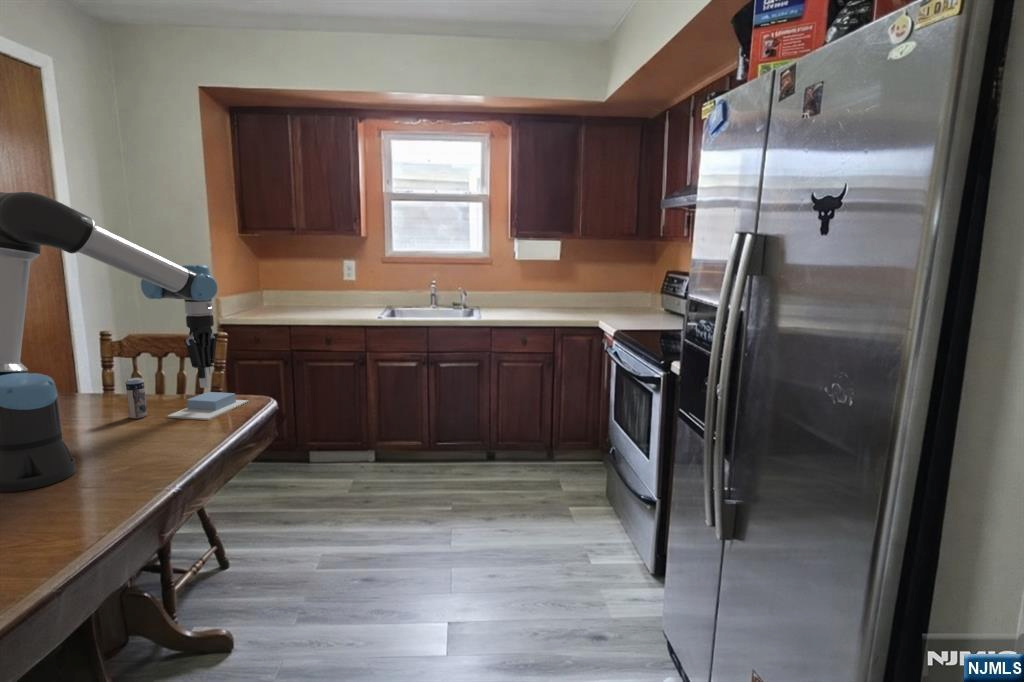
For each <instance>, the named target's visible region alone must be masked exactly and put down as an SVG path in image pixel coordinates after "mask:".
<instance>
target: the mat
mask: <svg viewBox="0 0 1024 682" xmlns="http://www.w3.org/2000/svg"><path fill="white" fill-rule="evenodd" d="M247 402H248V403H249V402H250V401H249V400H247V399H246V400H245V399H244V400H243V399H236V402H235V403H233V404H230V405H228V406H226V407H223V408H221V409H219V410H217V411H213V410H197V409H188V408H187V407H185V408H183V409H180V410H179V411H176V412H172V413H170V414H168V415H167V416H166V417H167V418H168V419H169V418H171V419H172V418H173V419H182V420H185V419H186V420H200V421H211V420H213V419H214V418H217V417H219V416H222V415H224V414H226V413H228V412H230V411H232V409H233V410H234V408H235V409H237V408H239V407H242V406H243V404H244V405H246V404H248V403H247ZM245 403H246V404H245ZM241 405H242V406H241ZM238 406H239V407H238ZM236 407H237V408H236Z"/></svg>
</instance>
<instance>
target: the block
mask: <svg viewBox="0 0 1024 682" xmlns="http://www.w3.org/2000/svg"><path fill="white" fill-rule="evenodd" d="M236 400H237V398H236V393H232V392H219V391H218V392H217V391H207V392H205V393H201V394H199V395H196V396H193V397H191V398H188V399H186V406H187V407H186V408H188V409H197V410H213V411H217V410H219V409H221V408H223V407H226V406H228V405H230V404H233V403H235V402H236Z"/></svg>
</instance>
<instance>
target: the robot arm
mask: <svg viewBox="0 0 1024 682" xmlns="http://www.w3.org/2000/svg"><path fill="white" fill-rule="evenodd" d="M42 246H45V247H49V248H51V247H52V248H54V249H58V250H61V251H63V252H65V253H68V254H77V253H80V254H82V255H84V256H86V257H89V258H92V259H93V260H97V261H98V262H100V263H101V262H102V263H103V264H106V265H108V266H110V267H113V268H115V269H117V270H120V271H122V272H125V273H127V274H130V275H132V276H134V277H136V278H138V279H141V280H140V289H141V291H142V294H143V295H144V296H145V297H146V298H147V299H150V300H161V299H170V300H171V299H174V300H183V301H184V313H185V314H186V316H185V323H186V324H185V325H186V327H187V328H188V329H189V332H188V338H184V339H183V343H184V344H185V346H186V349H187V353H188V356H189V359H190V364H191V367H192V368H193V369H197V375H198V376H197V377H198V379H199V388H202V389H209V388H211V387H212V385H211V368H212V367H214V364H215V361H216V360H215V359H216V351H217V350H216V349H217V340H218V336H219V335H218V333H214V332H213V329H212V327H213V326H215V323H214V322H215V321H214V315H213V314H212V313H213V312H214V310H213V301H212V299H213V298H215V296H216V295H217V294H218V289H219V288H218V287H219V286H218V282H217V281H216V279H215V278H214V277H213V276H211V272H210V268H209V266H208V265H205V264H184V265H180V264H177V263H175V262H174V261H171V260H170V259H168V258H165V257H163V256H161V255H159V254H157V253H156V252H155V253H154V252H153V251H151V250H149V249H146V248H145V247H143V246H140V245H138V244H136V243H135V242H132V241H130V240H127V239H126V238H123V237H122V236H119V235H117V234H115V233H114V232H111V231H110V230H107V229H105V228H103V227H101V226H99V225H96V223H95V221H94V219H93V218H92V217H90V216H88V215H86V214H84V213H82V212H80V211H78V210H76V209H75V208H71V207H70V206H68V205H66V204H64V203H62V202H59V201H58V200H57V199H56V200H55V199H53V198H51V197H49V196H46V195H43V194H42V193H41V194H40V193H38V192H31V191H17V192H0V493H12V492H21V491H28V490H33V489H39V488H42V487H47V486H49V485H53V484H56V483H59V482H61V481H64V480H65V479H66V480H67V478H70V477H71V476H73V475H74V474H75V473H76V472H77V466H76V460H75V458H74V457H73V455H72V454H71V451H70V450H69V448H68V446H67V445H66V443H65V441H64V438H63V432H62V424H61V417H60V410H59V409H60V408H59V398H58V397H59V396H58V395H59V394H58V390H57V387H56V383H55V382H56V381H54V379H53V378H52V377H51V376H49V375H46V374H43V373H35V372H33V373H29V371H28V370H29V369H28V368H27V367H26V365H24V364H23V363H22V362H21V357H22V347H23V345H22V344H23V337H24V330H25V329H24V328H25V318H26V308H27V300H28V292H29V291H28V290H29V281H30V273H31V272H30V271H31V263H32V261H34V260H35V259H37V258H39V257H40V255H41V247H42Z"/></svg>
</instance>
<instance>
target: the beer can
mask: <svg viewBox="0 0 1024 682" xmlns="http://www.w3.org/2000/svg"><path fill="white" fill-rule="evenodd" d="M125 389H126V396H127V397H126V399H127V408H128V418H130V419H132V420H133V419H135V420H136V419H142V418H145V417H147V415H148V408H147V400H146V399H147V398H146V388H145V380H144V379H143V378H142V377H130V378H127V379H126V382H125Z"/></svg>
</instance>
